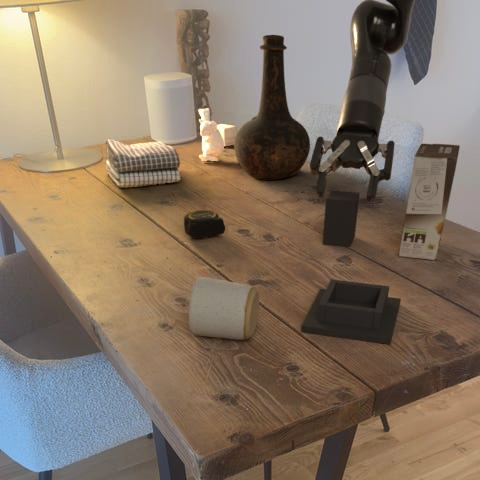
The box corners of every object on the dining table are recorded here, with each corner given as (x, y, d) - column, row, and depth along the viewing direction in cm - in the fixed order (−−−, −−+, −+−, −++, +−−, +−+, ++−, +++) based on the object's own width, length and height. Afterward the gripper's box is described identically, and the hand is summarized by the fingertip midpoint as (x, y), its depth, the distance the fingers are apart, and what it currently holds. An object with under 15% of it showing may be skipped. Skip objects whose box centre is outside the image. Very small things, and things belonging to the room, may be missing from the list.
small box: (238, 144, 161) (237, 125, 158) (224, 148, 158) (223, 129, 155) (223, 141, 164) (223, 122, 161) (210, 145, 161) (209, 126, 158)
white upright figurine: (192, 158, 150) (189, 107, 142) (216, 155, 152) (214, 105, 144) (203, 166, 144) (201, 113, 136) (228, 163, 146) (226, 110, 138)
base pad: (399, 304, 83) (403, 282, 80) (390, 345, 74) (394, 321, 72) (319, 294, 86) (321, 272, 84) (301, 332, 77) (302, 308, 75)
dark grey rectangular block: (354, 237, 104) (359, 192, 99) (350, 247, 100) (355, 200, 95) (327, 234, 105) (331, 190, 100) (322, 244, 101) (325, 198, 96)
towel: (119, 192, 128) (114, 155, 123) (105, 172, 141) (100, 137, 136) (184, 184, 132) (181, 147, 127) (164, 165, 145) (160, 131, 140)
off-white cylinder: (249, 351, 73) (249, 296, 68) (189, 345, 75) (185, 290, 70) (265, 314, 81) (266, 263, 77) (210, 309, 83) (208, 259, 78)
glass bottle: (286, 162, 146) (290, 29, 128) (322, 179, 133) (332, 35, 115) (223, 171, 140) (218, 34, 122) (254, 190, 127) (254, 40, 110)
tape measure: (190, 244, 103) (188, 223, 100) (180, 231, 108) (179, 211, 105) (225, 238, 104) (225, 218, 102) (215, 226, 110) (214, 206, 107)
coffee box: (436, 261, 95) (457, 158, 85) (397, 257, 96) (414, 155, 86) (440, 241, 101) (460, 144, 91) (404, 238, 103) (420, 142, 93)
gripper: (320, 96, 99) (302, 183, 98) (403, 99, 95) (385, 189, 94) (324, 123, 106) (307, 205, 105) (402, 127, 103) (384, 211, 101)
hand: (344, 197), depth 100 cm, fingers open, 8 cm apart
